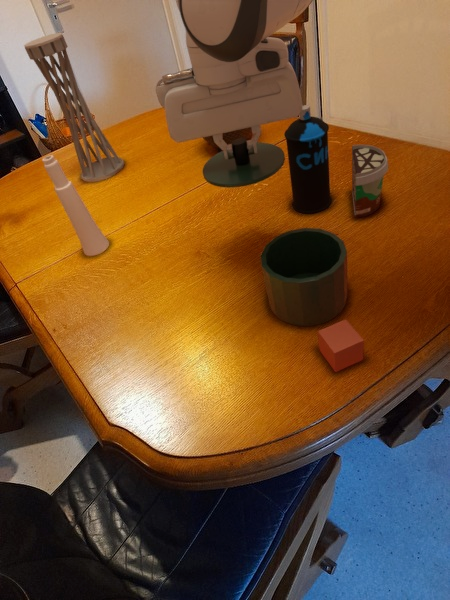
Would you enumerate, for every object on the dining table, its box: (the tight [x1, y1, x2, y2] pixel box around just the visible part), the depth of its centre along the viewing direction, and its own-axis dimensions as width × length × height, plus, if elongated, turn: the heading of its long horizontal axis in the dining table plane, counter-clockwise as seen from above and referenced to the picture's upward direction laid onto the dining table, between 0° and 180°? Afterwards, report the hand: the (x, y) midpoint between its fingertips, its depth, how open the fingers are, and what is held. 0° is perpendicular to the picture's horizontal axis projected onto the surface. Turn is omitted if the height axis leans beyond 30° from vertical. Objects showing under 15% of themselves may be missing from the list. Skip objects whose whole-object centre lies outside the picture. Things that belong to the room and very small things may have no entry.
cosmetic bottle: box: [42, 154, 110, 257], centre depth 85 cm, size 6×6×22 cm
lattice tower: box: [23, 32, 125, 183], centre depth 111 cm, size 14×13×35 cm
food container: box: [351, 144, 389, 219], centre depth 79 cm, size 12×6×10 cm, turn 171°
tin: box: [260, 227, 348, 327], centre depth 64 cm, size 13×13×10 cm
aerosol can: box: [283, 104, 332, 214], centre depth 80 cm, size 8×8×20 cm
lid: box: [202, 138, 286, 189], centre depth 65 cm, size 14×14×5 cm
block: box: [317, 318, 365, 373], centre depth 56 cm, size 4×4×4 cm
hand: (241, 155), depth 65 cm, fingers closed on lid, 2 cm apart
